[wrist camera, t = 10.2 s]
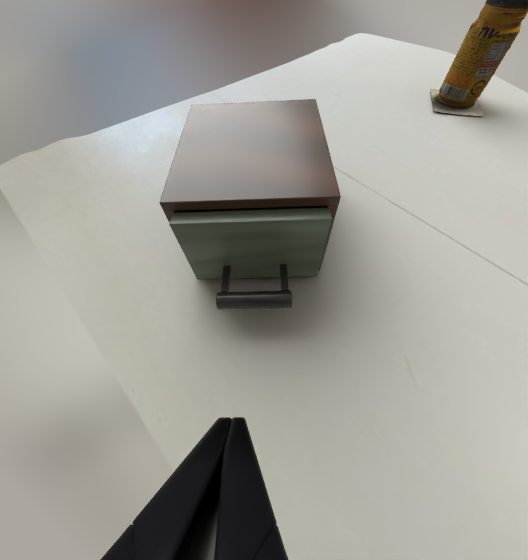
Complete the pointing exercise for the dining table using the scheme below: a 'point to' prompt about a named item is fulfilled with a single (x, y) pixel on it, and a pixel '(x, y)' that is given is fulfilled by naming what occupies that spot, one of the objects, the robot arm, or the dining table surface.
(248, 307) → the drawer
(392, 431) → the dining table surface
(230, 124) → the cabinet
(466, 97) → the condiment
